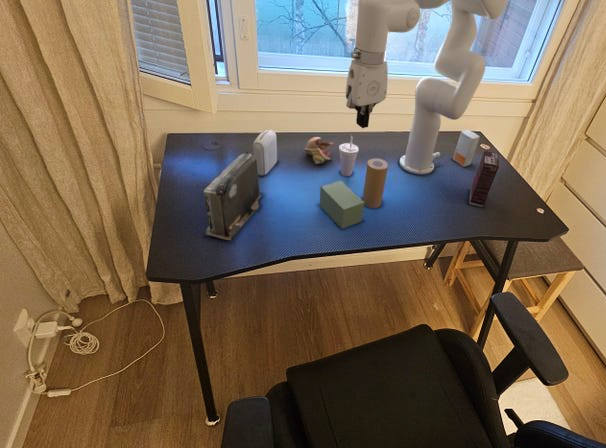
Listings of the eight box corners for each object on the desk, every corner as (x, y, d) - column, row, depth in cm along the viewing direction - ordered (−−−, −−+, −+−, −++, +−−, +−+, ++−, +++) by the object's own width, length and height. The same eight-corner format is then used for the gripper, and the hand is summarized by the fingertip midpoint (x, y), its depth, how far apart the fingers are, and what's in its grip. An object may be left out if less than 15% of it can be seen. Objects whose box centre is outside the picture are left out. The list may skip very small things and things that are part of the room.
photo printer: (266, 158, 133) (265, 124, 125) (278, 161, 132) (277, 127, 124) (252, 174, 125) (249, 139, 117) (265, 177, 124) (263, 142, 117)
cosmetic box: (452, 159, 150) (460, 131, 143) (459, 157, 153) (468, 128, 145) (463, 167, 147) (473, 138, 140) (471, 164, 150) (480, 136, 142)
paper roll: (367, 203, 127) (393, 164, 124) (378, 213, 123) (406, 174, 120) (341, 193, 116) (370, 151, 113) (353, 204, 113) (382, 161, 110)
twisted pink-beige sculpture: (332, 169, 134) (313, 154, 127) (311, 171, 140) (292, 156, 133) (340, 146, 137) (322, 130, 130) (319, 149, 143) (301, 133, 136)
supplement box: (483, 207, 129) (499, 166, 119) (468, 204, 129) (483, 163, 119) (483, 193, 136) (498, 153, 126) (469, 190, 136) (483, 149, 126)
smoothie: (352, 180, 130) (357, 142, 121) (334, 175, 131) (337, 137, 122) (358, 170, 135) (362, 133, 126) (340, 166, 136) (343, 128, 127)
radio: (247, 187, 119) (243, 143, 110) (273, 195, 118) (271, 151, 109) (198, 234, 102) (188, 187, 92) (229, 244, 101) (222, 197, 91)
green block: (339, 199, 122) (340, 180, 117) (361, 221, 115) (364, 202, 111) (319, 205, 118) (320, 186, 113) (341, 229, 111) (343, 209, 107)
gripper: (353, 64, 88) (347, 138, 100) (403, 57, 96) (392, 126, 108) (334, 53, 92) (330, 124, 104) (384, 47, 100) (375, 114, 112)
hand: (362, 125), depth 106 cm, fingers closed
